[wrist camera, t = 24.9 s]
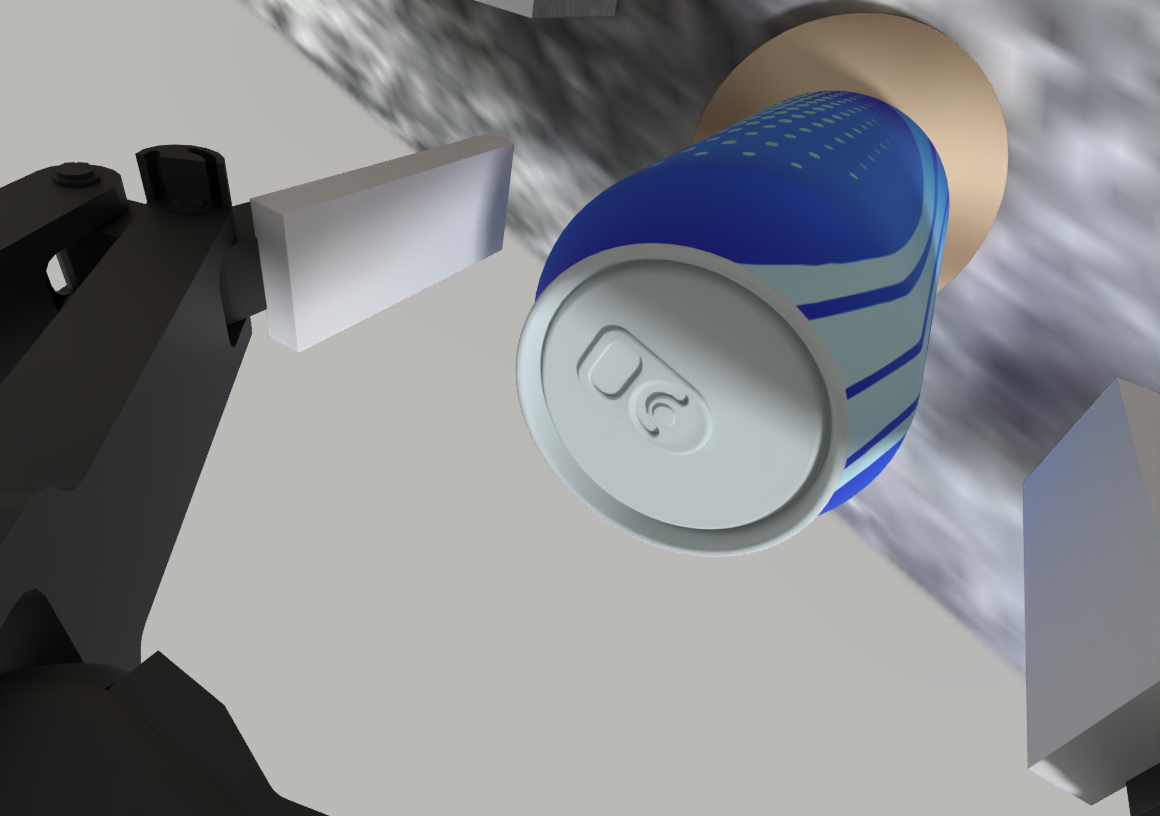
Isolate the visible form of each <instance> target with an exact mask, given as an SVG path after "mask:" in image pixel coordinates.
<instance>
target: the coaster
mask: <svg viewBox="0 0 1160 816" xmlns="http://www.w3.org/2000/svg"><path fill="white" fill-rule="evenodd" d="M831 90H835V91H849V92H855V93H861V94H864V95H868V96H871V97H874V98H877V99H879V100H882V101H884V102H886V103H888V104H890V105H892V106H894V107H896V108H897V109H899V110H900V111H902V112H903V113H904V114H906V115H907V116H908V117H910V118H911V119H912V120H913V121H914V122H915V123H916V124H917V125H918V126H919V127H920V128H921V129H922V130H923V131H924V132H925V134H926V135H927V136H928V138H929V139H930V141H931V142H932V144H933V145H934V147H935V149H936V151H937V152H938V154H939V156H940V159H941V161H942V164H943V166H944V169H945V173H946V177H947V181H948V188H949V201H950V208H949V220H948V226H947V232H946V238H945V244H944V250H943V257H942V263H941V269H940V275H939V281H938V287H937V292H939V291H940V290H941V289H942V288H943V287H944V286H946V285H947V284H948V283H949V282H950V281H951V280H953V279H954V278H955V277H956V276H957V275H958V274H959V272H960V271H961V270H962V269H963V268H964V267H965V266H966V265H967V264H968V263H969V261H970V260H971V259H972V257H973V256H974V255H975V253H976V252H977V250H978V249H979V247H980V246H981V245H982V243H983V242H984V240H985V238H986V236H987V234H988V232H989V230H990V228H991V226H992V225H993V223H994V220H995V217H996V215H997V212H998V209H999V207H1000V204H1001V201H1002V197H1003V193H1004V188H1005V183H1006V179H1007V166H1008V145H1007V133H1006V127H1005V123H1004V119H1003V114H1002V110H1001V106H1000V104H999V101H998V99H997V97H996V94H995V92H994V90H993V87H992V85H991V84H990V82H989V81H988V79H987V77H986V76H985V74H984V73H983V71H982V70H981V68H980V67H979V65H978V64H977V63H976V62H975V61H974V60H973V59H972V58H971V57H970V56H969V54H968V53H967V52H966V51H965V50H964V49H963V48H961V47H960V46H959V45H957V44H956V43H955V42H954V41H952V40H951V39H950V38H948V37H947V36H946V35H944V34H942V33H940V32H938V31H936V30H935V29H933V28H931V27H929V26H927V25H925V24H922V23H919V22H916V21H913V20H910V19H908V18H905V17H899V16H893V15H888V14H882V13H852V14H843V15H834V16H829V17H825V18H821V19H817V20H813V21H810V22H807V23H804V24H802V25H800V26H797V27H795V28H792V29H790V30H787V31H785V32H784V33H782V34H780V35H778V36H777V37H775V38H773V39H771V40H769V41H768V42H766V43H765V44H764V45H762V46H761V47H759V48H758V49H757V50H755V51H754V52H753V53H751V54H750V55H749V56H748V57H747V58H746V59H744V60H743V61H742V62H741V63H740V64H739V65H738V66H737V67H736V68H735V69H734V70H733V71H732V72H731V73H730V75H729V76H728V77H727V78H726V79H725V81H724V82H723V83H722V84H721V85H720V87H719V88H718V90H717V91H716V93H715V94H714V96H713V97H712V99H711V100H710V102H709V103H708V105H707V107H706V109H705V111H704V113H703V115H702V117H701V119H700V121H699V123H698V126H697V129H696V132H695V135H694V137H693V140H692V144H691V145H693V144H695V143H697V142H699V141H701V140H703V139H705V138H707V137H709V136H711V135H713V134H716V133H718V132H720V131H722V130H724V129H726V128H728V127H730V126H732V125H734V124H736V123H738V122H740V121H742V120H744V119H746V118H748V117H750V116H752V115H754V114H756V113H758V112H760V111H762V110H764V109H766V108H768V107H770V106H772V105H774V104H776V103H778V102H780V101H783V100H785V99H788V98H791V97H794V96H797V95H801V94H805V93H810V92H817V91H831Z"/></svg>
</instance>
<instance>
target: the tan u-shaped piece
mask: <svg viewBox="0 0 1160 816" xmlns="http://www.w3.org/2000/svg"><path fill="white" fill-rule="evenodd" d="M475 1H478V2H481V3H484V4H488V5H491V6H494V7H497V8H501V9H504V10H507V11H510V12H513V13H517V14H520V15H523V16H526V17H529V18H553V17H584V16H614V14H615V9H616V4H617V0H475Z"/></svg>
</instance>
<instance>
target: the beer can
mask: <svg viewBox="0 0 1160 816" xmlns="http://www.w3.org/2000/svg"><path fill="white" fill-rule="evenodd" d="M949 208H950V201H949V188H948V181H947V177H946V173H945V169H944V166H943V164H942V161H941V159H940V156H939V154H938V152H937V151H936V149H935V147H934V145H933V144H932V142H931V141H930V139H929V138H928V136H927V135H926V134H925V132H924V131H923V130H922V129H921V128H920V127H919V126H918V125H917V124H916V123H915V122H914V121H913V120H912V119H911V118H910V117H908V116H907V115H906V114H904V113H903V112H902V111H900V110H899V109H897V108H896V107H894V106H892V105H890V104H888V103H886V102H884V101H882V100H879V99H877V98H874V97H871V96H868V95H864V94H861V93H855V92H849V91H835V90H831V91H817V92H810V93H805V94H801V95H797V96H794V97H791V98H788V99H785V100H783V101H780V102H778V103H776V104H774V105H772V106H770V107H768V108H766V109H764V110H762V111H760V112H758V113H756V114H754V115H752V116H750V117H748V118H746V119H744V120H742V121H740V122H738V123H736V124H734V125H732V126H730V127H728V128H726V129H724V130H722V131H720V132H718V133H716V134H713V135H711V136H709V137H707V138H705V139H703V140H701V141H699V142H697V143H695V144H693V145H691V146H689V147H687V148H685V149H683V150H681V151H679V152H677V153H675V154H673V155H671V156H669V157H667V158H665V159H663V160H661V161H659V162H657V163H655V164H653V165H651V166H649V167H647V168H645V169H643V170H641V171H639V172H637V173H635V174H633V175H631V176H629V177H627V178H625V179H623V180H621V181H619V182H618V183H616V184H614V185H613V186H611V187H610V188H608V189H606V190H605V191H603V192H602V193H601V194H600V195H598V196H597V197H596V198H594V199H593V200H592V201H591V202H589V203H588V204H587V205H586V206H585V207H584V208H583V209H582V210H581V211H580V212H579V213H578V214H577V215H576V216H575V217H574V218H573V219H572V221H571V222H570V223H569V224H568V225H567V227H566V228H565V229H564V230H563V232H562V234H561V235H560V237H559V238H558V240H557V241H556V243H555V245H554V247H553V249H552V251H551V253H550V255H549V257H548V259H547V261H546V263H545V266H544V269H543V272H542V274H541V277H540V280H539V284H538V288H537V292H536V298H535V303H534V305H533V306H532V308H531V311H530V312H529V314H528V316H527V318H526V321H525V324H524V326H523V329H522V332H521V335H520V339H519V343H518V349H517V357H516V385H517V392H518V398H519V402H520V406H521V411H522V414H523V417H524V420H525V423H526V426H527V428H528V430H529V433H530V435H531V437H532V439H533V441H534V443H535V445H536V447H537V449H538V451H539V452H540V454H541V456H542V457H543V459H544V461H545V462H546V464H547V465H548V466H549V468H550V469H551V471H552V472H553V473H554V475H555V476H556V477H557V478H558V479H559V481H560V482H561V483H562V484H563V485H564V486H565V488H566V489H567V490H568V491H569V492H570V493H571V494H572V495H573V496H574V497H575V498H576V499H577V500H578V501H580V502H581V503H582V504H583V505H584V506H585V507H586V508H588V509H589V510H590V511H591V512H593V513H594V514H595V515H597V516H598V517H599V518H601V519H602V520H604V521H605V522H607V523H608V524H610V525H611V526H613V527H615V528H617V529H618V530H620V531H622V532H624V533H626V534H627V535H629V536H631V537H633V538H636V539H638V540H640V541H642V542H645V543H647V544H650V545H653V546H656V547H659V548H662V549H666V550H669V551H673V552H678V553H682V554H688V555H696V556H707V557H724V556H736V555H744V554H748V553H753V552H757V551H760V550H763V549H766V548H769V547H772V546H774V545H776V544H779V543H781V542H783V541H785V540H787V539H788V538H790V537H792V536H793V535H795V534H797V533H798V532H799V531H800V530H802V529H803V528H804V527H806V526H807V525H808V524H809V523H810V522H811V521H812V520H813V519H814V518H815V517H816V516H819V515H821V514H823V513H825V512H827V511H830V510H832V509H834V508H836V507H837V506H839V505H841V504H842V503H844V502H846V501H847V500H849V499H850V498H852V497H853V496H854V495H856V494H857V493H858V492H859V491H861V490H862V489H863V488H865V487H866V486H867V485H868V484H869V483H870V482H871V481H872V480H873V479H875V478H876V477H877V476H878V475H879V474H880V473H881V471H882V470H883V469H884V468H885V467H886V465H887V464H888V463H889V462H890V461H891V459H892V458H893V456H894V455H895V453H896V451H897V450H898V448H899V447H900V445H901V444H902V441H903V439H904V437H905V435H906V433H907V431H908V429H909V427H910V425H911V423H912V420H913V417H914V414H915V411H916V408H917V405H918V400H919V395H920V390H921V386H922V380H923V373H924V367H925V361H926V355H927V349H928V343H929V337H930V330H931V324H932V318H933V312H934V306H935V300H936V293H937V287H938V281H939V275H940V269H941V263H942V257H943V250H944V244H945V238H946V232H947V226H948V220H949Z"/></svg>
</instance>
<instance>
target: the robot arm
mask: <svg viewBox="0 0 1160 816" xmlns="http://www.w3.org/2000/svg"><path fill="white" fill-rule="evenodd" d="M513 150H514V143H512V142H509V141H507V140H504V139H502V138H499V137H496V136H494V135H491V134H489V133H488V134H484V135H480V136H477V137H473V138H469V139H466V140H462V141H459V142H455V143H451V144H448V145H444V146H440V147H437V148H433V149H429V150H426V151H422V152H418V153H415V154H411V155H408V156H404V157H401V158H397V159H393V160H389V161H386V162H382V163H378V164H375V165H371V166H368V167H364V168H360V169H357V170H353V171H349V172H346V173H342V174H338V175H335V176H331V177H327V178H324V179H320V180H316V181H313V182H309V183H305V184H302V185H298V186H295V187H291V188H287V189H284V190H280V191H276V192H273V193H269V194H265V195H262V196H258V197H255V198H251V199H250V202H247V203H243V204H240V205H236V206H232V202H231V196H230V190H229V184H228V178H227V171H226V165H225V159H224V157H223V156H221V155H220V154H219V153H218V152H215V151H213V150H210V149H207V148H203V147H197V146H192V145H161V146H155V147H150V148H146V149H143V150H141V151H140V152H138V153H136V154H135V155H136V159H137V163H138V167H139V171H140V175H141V179H142V183H143V187H144V191H145V195H146V199H147V203H146V204H143V203H139V202H135V201H131V200H127V198H126V194H125V191H124V187H123V183H122V179H121V175H120V174H119V173H117V172H116V171H114V170H112V169H108V168H106V167H102V166H96V165H89V164H88V163H82V162H78V163H75V162H72V163H64V164H62V165H59V166H51V167H48V168H45V169H42V170H39V171H36V172H34V173H32V174H30V175H28V176H25V177H23V178H21V179H19V180H17V181H15V182H12V183H10V184H8V185H6V186H4V187H1V188H0V816H328V815H326V814H323V813H321V812H318V811H315V810H313V809H311V808H308V807H305V806H303V805H300V804H298V803H295V802H293V801H290V800H287V799H285V798H283V797H281V796H280V795H278V794H277V793H276V792H275V791H274V790H273V789H272V787H271V786H270V784H269V783H268V781H267V779H266V777H265V776H264V774H263V772H262V770H261V769H260V767H259V766H258V763H257V762H256V760H255V758H254V756H253V755H252V753H251V751H250V749H249V748H248V746H247V744H246V742H245V740H244V739H243V737H242V735H241V733H240V732H239V730H238V728H237V726H236V725H235V723H234V721H233V719H232V718H231V716H230V714H229V713H228V711H227V709H226V707H225V705H223V704H222V703H221V702H220V701H218V700H217V699H216V698H215V697H214V696H213V695H211V694H210V693H209V692H208V691H207V690H205V689H204V688H203V687H202V686H201V685H199V684H198V683H197V682H196V681H195V680H193V679H192V678H191V677H190V676H188V675H187V674H186V673H185V672H184V671H182V670H181V669H180V668H179V667H178V666H176V665H175V664H174V663H173V662H172V661H170V660H169V659H168V658H167V657H166V656H164V655H163V654H162V653H161V652H160V651H157V652H156V653H155V654H153V655H152V656H150V657H149V658H148V659H147V660H145V661H144V662H143V663H141V640H142V634H143V630H144V626H145V623H146V620H147V617H148V615H149V612H150V609H151V607H152V604H153V601H154V599H155V596H156V593H157V590H158V588H159V585H160V582H161V579H162V577H163V574H164V571H165V569H166V566H167V563H168V561H169V558H170V555H171V552H172V550H173V547H174V544H175V541H176V539H177V536H178V533H179V531H180V528H181V525H182V522H183V520H184V517H185V514H186V512H187V509H188V506H189V504H190V501H191V498H192V495H193V492H194V490H195V487H196V485H197V482H198V479H199V476H200V474H201V471H202V468H203V466H204V463H205V460H206V457H207V455H208V452H209V449H210V446H211V444H212V441H213V438H214V436H215V433H216V430H217V427H218V425H219V422H220V419H221V416H222V414H223V411H224V408H225V406H226V403H227V400H228V397H229V395H230V392H231V389H232V387H233V384H234V381H235V379H236V376H237V373H238V370H239V368H240V365H241V362H242V359H243V357H244V354H245V351H246V349H247V346H248V343H249V341H250V338H251V335H252V326H251V321H250V320H251V319H250V316H252V315H254V314H257V313H259V312H261V311H263V310H266V314H267V321H268V328H269V335H270V337H272V338H273V339H275V340H277V341H279V342H280V343H282V344H284V345H285V346H287V347H289V348H291V349H292V350H294V351H296V352H298V353H299V352H301V351H303V350H305V349H307V348H309V347H311V346H313V345H315V344H317V343H319V342H321V341H323V340H325V339H327V338H329V337H331V336H333V335H335V334H337V333H339V332H341V331H342V330H345V329H347V328H349V327H351V326H352V325H355V324H356V323H358V322H360V321H362V320H364V319H366V318H368V317H370V316H372V315H374V314H376V313H378V312H380V311H382V310H384V309H386V308H388V307H390V306H392V305H394V304H396V303H398V302H399V301H402V300H404V299H406V298H408V297H410V296H412V295H414V294H415V293H417V292H419V291H421V290H423V289H425V288H427V287H429V286H431V285H433V284H435V283H437V282H439V281H441V280H443V279H445V278H447V277H449V276H451V275H452V274H455V273H457V272H459V271H461V270H463V269H465V268H466V267H469V266H470V265H472V264H474V263H476V262H478V261H480V260H482V259H484V258H486V257H488V256H490V255H492V254H494V253H496V252H498V251H500V250H502V245H503V237H504V228H505V220H506V211H507V202H508V194H509V185H510V176H511V168H512V159H513ZM55 254H56V256H57V259H58V261H59V264H60V267H61V270H62V273H63V276H64V278H65V281H66V284H67V285H66V286H65V287H63V288H62V289H60V290H59V291H55V290H54V288H53V287H52V286H51V283H50V280H49V278H48V275H47V272H46V270H47V266H48V263H49V261H50V260H51V259H52V258H53V256H54V255H55ZM1023 526H1024V583H1025V640H1026V695H1027V696H1026V697H1027V751H1028V770H1030V771H1032V772H1034V773H1035V774H1037V775H1039V776H1041V777H1043V778H1044V779H1046V780H1048V781H1049V782H1051V783H1053V784H1055V785H1056V786H1058V787H1060V788H1062V789H1063V790H1065V791H1067V792H1069V793H1070V794H1072V795H1074V796H1076V797H1077V798H1079V799H1081V800H1083V801H1084V802H1086V803H1088V804H1090V805H1093V804H1095V803H1097V802H1099V801H1100V800H1102V799H1104V798H1106V797H1107V796H1109V795H1111V794H1113V793H1115V792H1116V791H1118V790H1120V789H1122V788H1123V787H1125V786H1127V793H1128V801H1129V808H1130V814H1131V816H1160V394H1159V393H1157V392H1154V391H1152V390H1149V389H1146V388H1144V387H1141V386H1139V385H1136V384H1134V383H1131V382H1128V381H1126V380H1123V379H1121V378H1118V377H1116V378H1115V379H1114V381H1113V382H1112V383H1111V384H1110V385H1109V386H1108V387H1107V388H1106V390H1105V391H1104V392H1103V393H1102V394H1101V395H1100V396H1099V398H1098V399H1097V400H1096V401H1095V402H1094V403H1093V404H1092V405H1091V407H1090V408H1089V409H1088V410H1087V411H1086V412H1085V413H1084V414H1083V416H1082V417H1081V418H1080V419H1079V420H1078V421H1077V422H1076V424H1075V425H1074V426H1073V427H1072V428H1071V429H1070V430H1069V431H1068V433H1067V434H1066V435H1065V436H1064V437H1063V438H1062V439H1061V441H1060V442H1059V443H1058V444H1057V445H1056V446H1055V447H1054V448H1053V450H1052V451H1051V452H1050V453H1049V454H1048V455H1047V456H1046V458H1045V459H1044V460H1043V461H1042V462H1041V463H1040V464H1039V465H1038V467H1037V468H1036V469H1035V470H1034V471H1033V472H1032V473H1031V475H1030V476H1029V477H1028V478H1027V479H1026V480H1025V481H1024V482H1023Z"/></svg>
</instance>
